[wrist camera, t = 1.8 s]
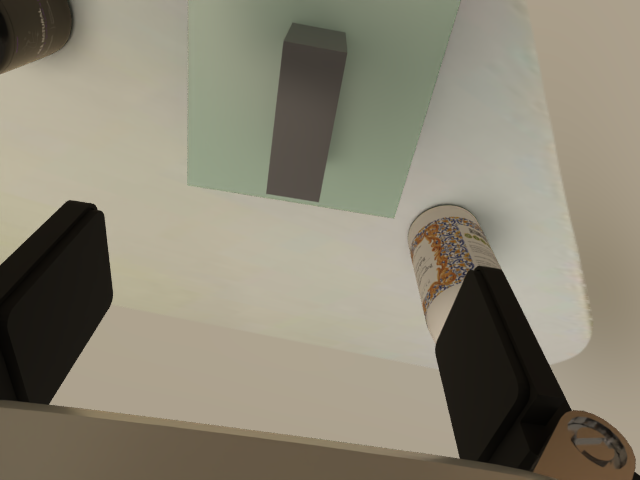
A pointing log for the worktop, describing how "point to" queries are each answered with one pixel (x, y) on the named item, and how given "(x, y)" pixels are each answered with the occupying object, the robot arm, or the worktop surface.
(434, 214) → the bath foam
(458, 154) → the worktop surface
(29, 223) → the worktop surface
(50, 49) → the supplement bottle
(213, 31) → the lid
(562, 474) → the robot arm
